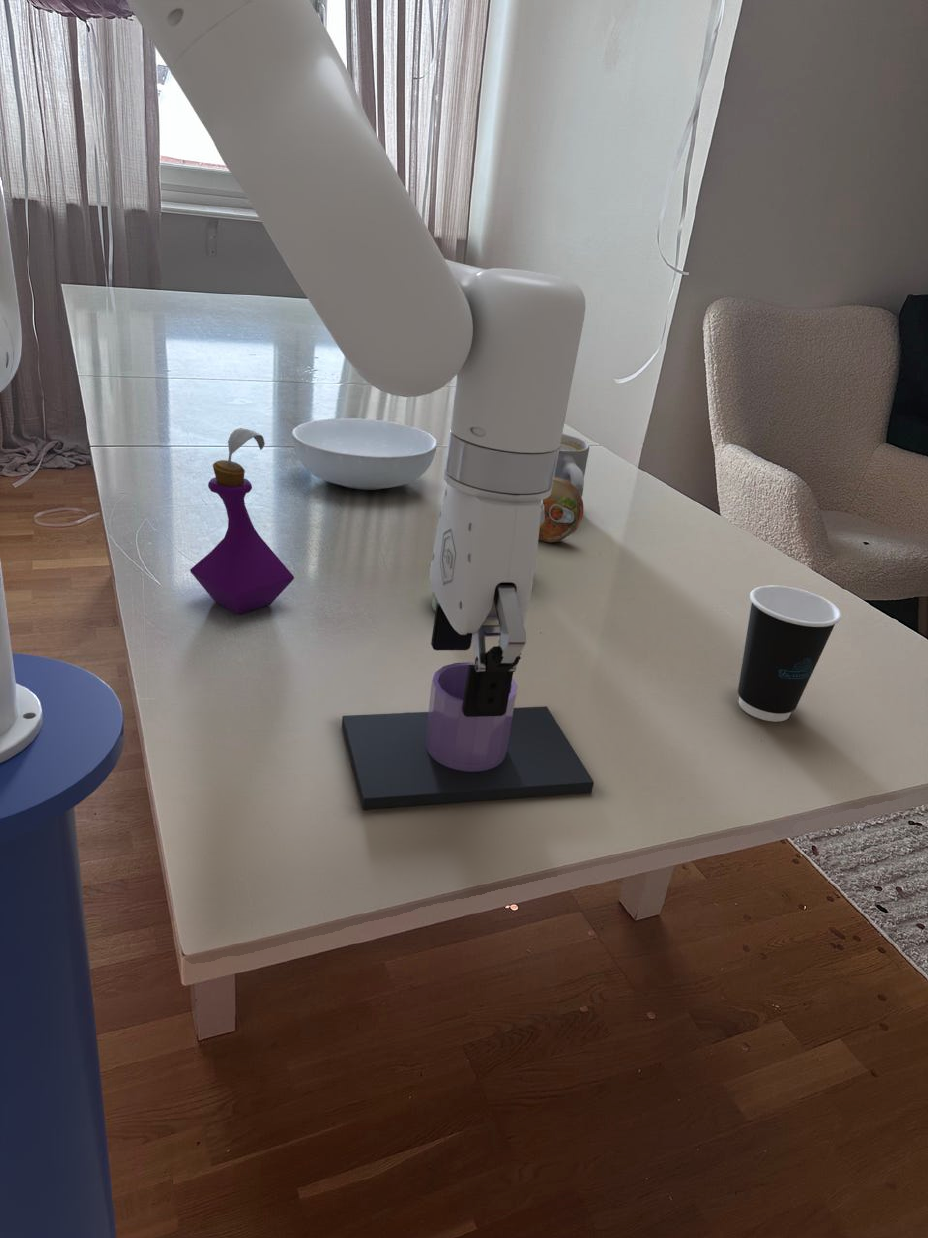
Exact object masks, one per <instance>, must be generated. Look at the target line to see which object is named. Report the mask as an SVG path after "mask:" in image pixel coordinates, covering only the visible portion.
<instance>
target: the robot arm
mask: <svg viewBox="0 0 928 1238" xmlns="http://www.w3.org/2000/svg"><path fill="white" fill-rule="evenodd" d="M125 2H126V3H127V5H128V6H129V8H130V10H131V11H132V13H133V14H134V17H136V19H137V21H138V22H139V24H140V26H141V27H142V29H143V30H144V32H145V33H146V35H147V37H148V38H149V40H150V42H151V43H152V44H153V46H154V47H155V49H156V51H157V52H158V54H159V55H160V57H161V59H162V61H163V62H164V63H165V65H166V67H167V68H168V69H169V70H168V71H170V74H171V76H172V77H173V79H174V80H175V81H176V83H177V86H178V87H179V88H180V90H181V92H182V93H183V95H184V96H185V98H186V99H187V101H188V102H189V104H190V106H191V108H192V109H193V111H194V112H195V114H196V115H197V117H198V119H199V120H200V123H201V124H202V125H203V127H204V129H205V131H206V132H207V134H208V135H209V136H210V137H209V138H210V139H211V140H212V142H213V144H214V146H215V148H216V150H217V153H218V154H219V156H220V158H221V159H222V161H223V163H224V165H225V166H226V168H227V170H228V171H229V172H230V174H231V175H232V176H233V178H234V180H235V181H236V183H237V184H238V185H239V187H240V189H241V190H242V191H243V193H244V195H245V196H246V198H247V200H248V201H249V203H250V204H251V206H252V208H253V210H254V212H255V213H256V215H257V216H258V219H259V220H260V222H261V224H262V225H263V227H264V229H265V231H266V232H267V234H268V236H269V237H270V239H271V242H272V243H273V244H274V246H275V248H276V250H277V251H278V253H279V255H280V257H281V258H282V260H283V261H284V263H285V264H286V266H287V268H288V270H289V271H290V273H291V275H292V276H293V278H294V279H295V281H296V283H297V284H298V286H299V287H300V289H301V290H302V292H303V294H304V295H305V297H306V298H307V299H308V302H309V303H310V304H311V306H312V308H313V309H314V311H315V312H316V314H317V315H318V317H319V319H320V321H321V322H322V323H323V325H324V327H325V328H326V330H327V331H328V333H329V334H330V336H331V337H332V339H333V341H334V342H335V344H336V345H337V347H338V349H339V350H340V351H341V353H342V354H343V356H344V357H345V359H346V360H347V362H348V363H349V364H350V366H351V367H352V368H353V370H354V371H355V372H356V373H357V374H358V375H359V376H360V377H361V378H362V379H363V380H365V381H366V382H367V383H368V384H369V385H371V386H372V387H373V388H375V389H377V390H379V391H381V392H383V393H386V394H388V395H390V396H391V395H392V396H397V397H403V398H414V397H421V396H425V395H430V394H432V393H434V392H436V391H438V390H441V389H442V388H443V387H445V386H447V384H449V383H450V382H452V380H453V379H454V378H456V381H455V387H454V388H455V389H454V394H453V395H454V396H453V403H452V411H451V419H450V425H449V426H450V427H449V433H448V440H447V447H446V454H445V455H446V456H445V462H444V469H443V470H444V471H443V480H444V481H445V482H446V486H445V491H444V494H443V498H442V503H441V508H440V512H439V518H438V523H437V528H436V533H435V539H434V544H433V550H432V556H431V562H430V569H429V575H428V576H429V584H430V588H431V590H432V593H433V592H434V594H435V596H436V598H437V600H438V602H439V603H437V605H436V612H435V611H434V612H435V613H434V621H433V626H432V627H433V628H432V633H431V642H430V645H431V647H432V649H433V650H434V651H468V650H470V648H471V645H472V646H473V647H472V649H473V662H474V665H469V667H468V673H467V679H466V686H465V692H464V698H463V704H462V712H463V714H464V715H465V716H466V717H485V716H502V715H504V714H505V713H506V709H507V704H508V698H509V693H510V688H511V682H512V678H513V676H514V673H515V672H516V671H517V669H518V668H517V667H518V664H519V662H520V660H521V659H522V657H521V656H522V651H523V649H524V647H525V645H526V643H527V632H526V628H525V622H526V618H527V615H528V610H529V606H530V600H531V595H532V590H533V583H534V577H535V570H536V563H537V562H536V561H537V555H538V546H539V540H538V538H539V528H540V517H541V500H544V499H546V498H548V497H549V496H550V495H551V491H552V485H553V480H554V475H555V469H556V464H557V459H558V453H559V447H560V443H561V438H562V434H564V427H565V421H566V415H567V411H568V405H569V400H570V396H571V395H570V394H571V388H572V384H573V379H574V374H575V368H576V364H577V363H576V362H577V357H578V353H579V348H580V343H581V342H580V341H581V336H582V333H583V332H582V331H583V326H584V322H585V315H586V308H587V307H586V297H585V295H584V292H583V290H582V289H581V287H580V286H579V285H578V284H576V283H575V282H573V281H572V280H569V279H567V278H563V277H561V276H557V275H553V274H549V273H543V272H538V271H532V270H524V269H517V268H506V267H505V268H504V267H497V268H495V267H493V268H488V269H487V268H482V267H478V266H472V265H468V264H465V263H460V262H457V261H453V260H449V259H447V258H445V257H444V255H443V253H442V252H441V250H440V248H439V246H438V244H437V243H436V241H435V239H434V237H433V236H432V234H431V232H430V230H429V229H428V227H427V225H426V223H425V221H424V220H423V218H422V216H421V214H420V212H419V210H418V208H417V206H416V205H415V203H414V201H413V200H412V197H411V196H410V194H409V191H408V190H407V189H406V187H405V185H404V183H403V181H402V179H401V177H400V176H399V174H398V172H397V170H396V169H395V167H394V165H393V163H392V161H391V159H390V158H389V156H388V153H386V150H385V149H384V147H383V145H382V142H381V141H380V139H379V137H378V135H377V132H376V131H375V129H374V127H373V125H372V124H371V121H370V119H369V117H368V115H367V113H366V112H365V109H364V107H363V104H362V103H361V100H360V98H359V95H358V92H357V90H356V88H355V85H354V82H353V79H352V78H351V75H350V73H349V71H348V68H347V67H346V64H345V63H344V60H343V59H342V57H341V55H340V53H339V51H338V50H337V49H338V48H337V47H336V45H335V43H334V41H333V39H332V38H331V36H330V34H329V32H328V31H327V28H326V27H325V24H324V23H323V21H322V20H321V18H320V16H319V14H318V12H317V11H316V9H315V7H314V5H313V4H312V2H311V0H125ZM7 215H8V214H7V209H6V202H5V195H4V188H3V184H2V179H1V178H0V393H2V392H3V391H4V390H5V389H6V388H7V387H8V386H9V384H10V383H11V382H12V381H13V378H14V377H15V375H16V373H17V371H18V369H19V365H20V361H21V358H22V357H21V356H22V347H23V346H22V345H23V335H22V334H23V332H22V321H21V312H20V305H19V297H18V289H17V281H16V276H15V275H16V274H15V267H14V260H13V252H12V244H11V239H10V230H9V224H8V216H7ZM2 570H3V569H2V561H1V559H0V763H2V762H4V761H6V760H8V759H10V758H12V757H13V756H15V755H16V754H18V753H19V752H21V751H22V750H23V749H25V748H26V747H27V746H28V745H29V744H30V743H31V742H32V741H33V740H34V739H35V737H36V736H37V735H38V733H39V732H40V729H41V726H42V723H43V719H42V708H41V704H40V701H39V700H38V698H37V697H36V695H35V694H33V693H32V692H31V691H30V690H28V689H27V688H25V687H23V686H21V685H19V684H17V683H16V681H15V673H14V665H13V657H12V653H13V649H12V641H11V635H10V626H9V618H8V610H7V602H6V592H5V585H4V578H3V571H2ZM486 620H490V621H491V620H494V621H495V620H497V621H498V622H497V623H498V624H487V625H486V624H484V622H485V621H486ZM493 637H494V638H499V639H498V645H495V646H492V647H491V648H490V649H489V650H488V651H487V649H486V648H487V647H486V638H493Z"/></svg>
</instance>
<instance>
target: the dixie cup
mask: <svg viewBox="0 0 928 1238" xmlns="http://www.w3.org/2000/svg"><path fill="white" fill-rule="evenodd" d="M749 599H750V601H751V605H750V611H749V617H748V624H747V631H746V637H745V643H744V649H743V654H742V655H743V656H742V660H741V661H742V662H741V668H740V674H739V680H738V681H739V682H738V687H737V693H738V696H739V697H738V705H739V707H740V708H741V709H742V711H744V712H745V713H747V714H748V715H750V716H752V717H754V718H756V719H760V720H763V721H767V722H775V723H776V722H777V723H778V722H784V721H787V720H788V719H789V718H790V716H791V714H792V712H794V711H795V710H796V708H797V707H798V705H799V702H800V700H801V698H802V697H803V694H804V692H805V690H806V688H807V686H808V683H809V681H810V679H811V677H812V674H813V673H814V670H815V668H816V666H817V664H818V662H819V660H820V657H821V655H822V653H823V651H824V649H825V647H826V644H827V642H828V640H829V639H830V637H831V634H832V632H833V630H834V628H835V625H836V624H838V623H839V622H840V621H841V620H842V612H841V610H840V609H839V607H838V606H837V605H835V603H833V602H832V601H830V600H828V599H827V598H825V597H823V596H821V595H818V594H816V593H815V592H814V593H813V592H811V591H807V590H806V589H805V590H804V589H801V588H796V587H791V586H785V585H775V584H774V585H772V584H771V585H770V584H769V585H761V586H759V587H755V588H754V589H753V590H751V592H750V594H749Z"/></svg>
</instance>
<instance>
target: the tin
mask: <svg viewBox="0 0 928 1238" xmlns="http://www.w3.org/2000/svg"><path fill="white" fill-rule="evenodd" d="M583 501H584V499H583V497H581V495H580V493H579V492H578V490H577V489H576V487H575V486H574V485H573V484H571V483H570V482H568V481H567V480H565V479H562V478H558V477H554V480H553V485H552V491H551V495H550V496H549V497H548V498H546V499H544V500H543V504H544V513H545V521H544V523H543V524H542V525H540V528H539V538H538V541H541V542H545V543H556V542H560V541H563V540H565V539H566V538H567V537H569V536H571V535H572V534H574V533H575V532H576V531H577V530H578V528H579V527H580V525H581V524H582V520H583V517H584V502H583Z"/></svg>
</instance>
